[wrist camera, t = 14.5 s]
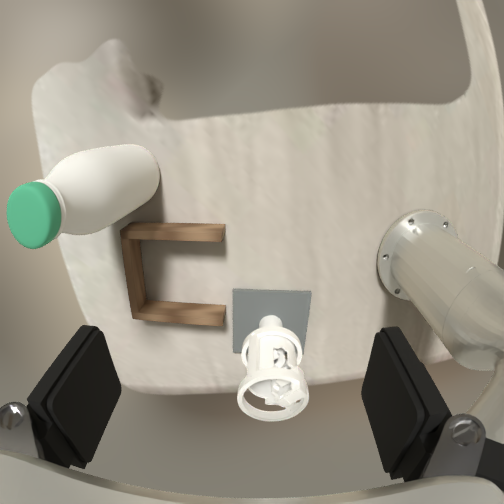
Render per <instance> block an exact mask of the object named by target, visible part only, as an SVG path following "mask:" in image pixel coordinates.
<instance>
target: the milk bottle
mask: <svg viewBox="0 0 504 504" xmlns="http://www.w3.org/2000/svg"><path fill="white" fill-rule="evenodd" d="M159 179H160V172H159V167H158V164H157V161H156V159H155V158H154V156H153V155H152V154H151V153H150V152H149V151H148V150H147V149H146V148H144V147H142V146H139V145H135V144H125V145H116V146H109V147H102V148H95V149H89V150H85V151H81V152H77V153H75V154H72V155H70V156H68V157H66V158H65V159H63V160H62V161H60V162H59V163H58V164H57V165H56V166H55V167H54V168H53V169H52V171H51V172H50V173H49V175H48V176H47V177H46V179H45V180H36V181H34V182H30V183H26V184H23V185H21V186H19V187H18V188H16V189H15V190H14V191H13V192H12V194H11V195H10V197H9V200H8V204H7V220H8V224H9V227H10V230H11V232H12V234H13V235H14V237H15V239H16V240H17V241H18V242H19V243H20V244H22V245H23V246H24V247H27V248H30V249H36V248H40V247H43V246H44V245H46V244H48V243H49V242H51V241H52V240H54V239H56V238H57V237H58V236H59V235H60V234H61V233H67V234H72V235H87V234H92V233H95V232H98V231H100V230H102V229H104V228H106V227H108V226H110V225H111V224H113V223H115V222H116V221H118V220H119V219H121V218H123V217H124V216H126V215H127V214H129V213H130V212H132V211H134V210H135V209H137V208H138V207H140V206H141V205H143V204H144V203H146V202H147V201H148V200H150V199H151V197H152V196H153V195H154V194H155V192H156V190H157V188H158V184H159Z"/></svg>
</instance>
